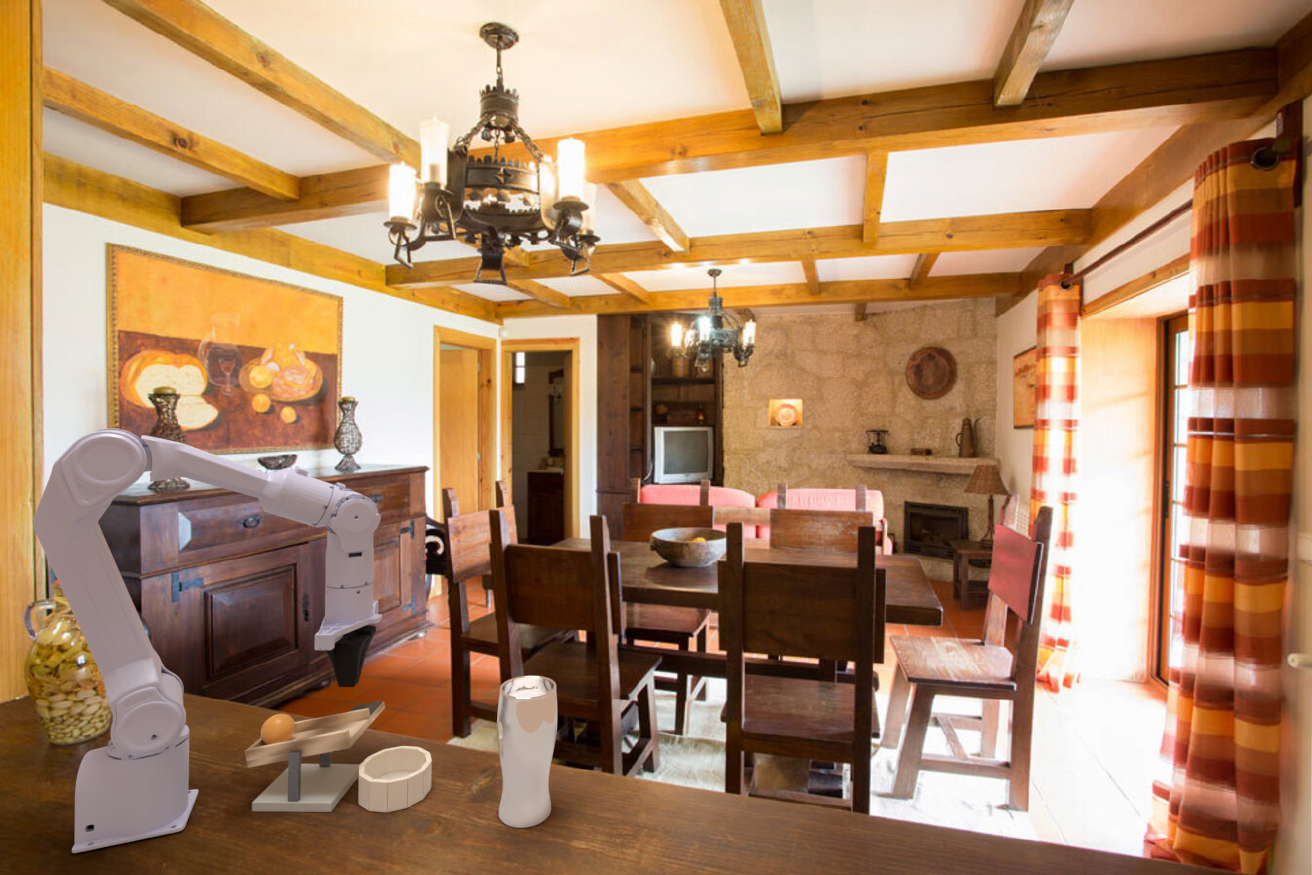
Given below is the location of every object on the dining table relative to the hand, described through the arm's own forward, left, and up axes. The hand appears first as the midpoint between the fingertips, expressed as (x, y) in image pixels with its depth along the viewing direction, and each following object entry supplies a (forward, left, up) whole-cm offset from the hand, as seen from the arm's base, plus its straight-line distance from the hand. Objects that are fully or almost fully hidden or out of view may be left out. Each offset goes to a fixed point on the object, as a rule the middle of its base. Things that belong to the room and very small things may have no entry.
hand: (348, 685), depth 83 cm
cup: (+5, -9, -11) cm, 15 cm away
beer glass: (+19, -19, -11) cm, 29 cm away
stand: (-4, -5, -11) cm, 12 cm away
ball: (-8, -3, -3) cm, 9 cm away
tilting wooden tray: (-3, -3, -5) cm, 6 cm away
